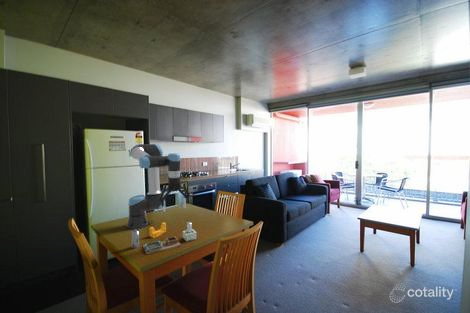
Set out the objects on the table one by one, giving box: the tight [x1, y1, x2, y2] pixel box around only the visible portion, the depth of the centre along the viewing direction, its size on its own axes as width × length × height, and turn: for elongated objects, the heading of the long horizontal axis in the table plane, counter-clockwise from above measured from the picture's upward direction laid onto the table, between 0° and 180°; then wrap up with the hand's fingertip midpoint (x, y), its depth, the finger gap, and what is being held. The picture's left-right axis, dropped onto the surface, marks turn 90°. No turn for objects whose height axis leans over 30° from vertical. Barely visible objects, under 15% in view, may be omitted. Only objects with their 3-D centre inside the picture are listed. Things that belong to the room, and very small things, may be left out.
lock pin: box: [186, 221, 193, 234], centre depth 140 cm, size 3×3×10 cm
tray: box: [182, 228, 197, 243], centre depth 140 cm, size 7×7×5 cm
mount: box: [142, 235, 182, 256], centre depth 129 cm, size 12×20×4 cm, turn 122°
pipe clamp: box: [148, 222, 167, 239], centre depth 147 cm, size 12×4×6 cm, turn 148°
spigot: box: [131, 229, 140, 250], centre depth 128 cm, size 4×4×11 cm
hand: (174, 209), depth 136 cm, fingers open, 13 cm apart
